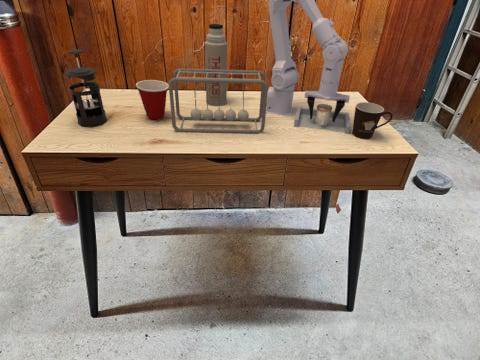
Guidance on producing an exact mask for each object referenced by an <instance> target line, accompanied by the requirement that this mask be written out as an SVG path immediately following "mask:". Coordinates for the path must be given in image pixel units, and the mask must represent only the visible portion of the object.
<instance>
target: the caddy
mask: <svg viewBox="0 0 480 360" xmlns="http://www.w3.org/2000/svg"><path fill="white" fill-rule="evenodd" d="M316 111H317V108H313V116H312V119H310V110H309V107H303V106H297V108H296V113H295V118H294V122H293V127H294V128H298V127H301V128H307V129H308V128H309V129H316V130H322V131H330V132H336V133H344V134H345V135H346V134H347V135H349V134H350V132H351V119H350V112H343V111H340V112H339V114H338V115H337V117H336V119H335V122H332V119H333V115H334V112H335V110H334V111H333V110H331V114H330V118H329V123H328V125H327V126H318V125H316V124H315V123H314V122H315V117H316Z"/></svg>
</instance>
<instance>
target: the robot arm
mask: <svg viewBox="0 0 480 360" xmlns="http://www.w3.org/2000/svg"><path fill="white" fill-rule="evenodd" d="M291 2H295V3H298V4H299V6H300V7H301V9H302V11H304V13H305V15H306V16H307V18H308V19H309V20H310V22H311V24H312V29H311V31H312V33H313V35H314V36H315V38H316V41H317V42H318V43H319V46H320V47H321V49H322V54H321V55H322V58H323V66H322V71H321V79H320V83H319V88H318V90H304V91H305V92H304V97H303V98H305V99H307V100H306V103H307V105H308V108H309V110H310V119H312V116H313V109H315V108H314V106H315V101H316V99H317V100H324V101H336V103H335V107H334V111H335V112H334V115H333V119H332V122H335V119H336V117H337V115H338V114H339V112H342V110H343V109H344V107H346V104H349V102H350V95H348V94H343V93H339V92H338V87H339V82H340V78H341V73H342V69H343V63H344V58H346V56H347V55H348V53H349V46H348V42H347V41H346V40H344V39H342V37H341V35H339V34H338V33H337V31H336V29H335V27H334V26H335V24H334V22H333V20H330V19H329V18H328V17H327V18H326V17H324V16H323V14H322V12H321V10H320V8H319V7H318V5H317V3H316V1H315V0H269V1H268V11H269V13H268V14H269V19H270V21H269V22H270V28H271V35H272V42H273V51H274V58H275V59H274V60H275V63H274V65H273V67H272V69H271V72H272V75H271V80H270V81H271V85H272V86H268V94H267V105H266V114H272V115H278V116H279V115H280V116H286V117H291V116H292V114H293V110H294V107H293V101H294V100H293V99H294V93H295V87H296V84H297V83H298V82H299V80H300V73H299V71H298V69H297V65H296V62H295V61H294V60H293V59H292V52H291V43H290V35H289V24H288V14H287V8H288V7H289V5H290V4H291Z"/></svg>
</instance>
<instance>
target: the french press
mask: <svg viewBox="0 0 480 360" xmlns="http://www.w3.org/2000/svg"><path fill="white" fill-rule="evenodd" d="M83 52H84V50H81V49H71V50H68V51H67V53H68V54H70V55H73V56H74V58H75V59H76V62H77V67H72V68H70V69H67V70H64V75H65V76H66V78H67V80H68V81H69V80H70V79H71V78H77V79H78V78H79V79H81V81H82V82H77V83H74V84H72V85H70V86H69V87H68V90H69V94H70V95H71V97H72V101H73V104H74V108H75V111H76V113H75V116H76V119H77V125H78V126H79V127H83V128H96V127H101V126H102V125H104V124H106V123H107V122H108V117H107V114H106V110H105V108H104V103H103V100H102V96H101V91H100V90H101V88H100V84H99V83H98V82H97V81H93V80H95V79H96V78H97V77H96V72H97V70H96V69H95V68H94V67H90V66H80V62H79V59H78V58H79V55H78V54H82V53H83ZM84 81H85V82H84ZM86 87H88V89H89V90H87V89H86ZM78 88H83V89H84V90H82V91H77V90H75V89H78ZM82 96H83V97H86V99H83V97H82ZM88 96H90V97H91V98H88Z"/></svg>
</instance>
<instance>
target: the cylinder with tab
mask: <svg viewBox="0 0 480 360" xmlns="http://www.w3.org/2000/svg"><path fill="white" fill-rule="evenodd" d="M316 109H317V111H316V117H315V122H314V123H315V124H316V125H318V126H327V125H328V123H329V118H330V114H331V111H333V106H332V105H330V104H327V103H319V104H317V105H316Z"/></svg>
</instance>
